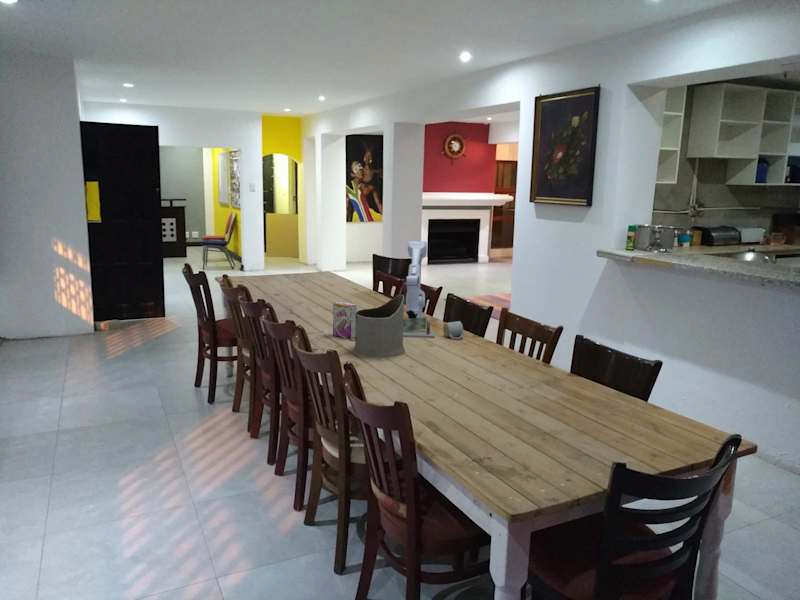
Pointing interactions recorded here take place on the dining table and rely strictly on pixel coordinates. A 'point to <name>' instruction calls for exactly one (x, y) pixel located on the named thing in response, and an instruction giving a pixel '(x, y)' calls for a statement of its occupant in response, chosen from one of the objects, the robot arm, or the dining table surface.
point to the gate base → (419, 333)
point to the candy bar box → (344, 320)
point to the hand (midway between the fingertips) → (412, 325)
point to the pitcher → (379, 330)
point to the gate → (414, 323)
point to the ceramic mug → (453, 330)
